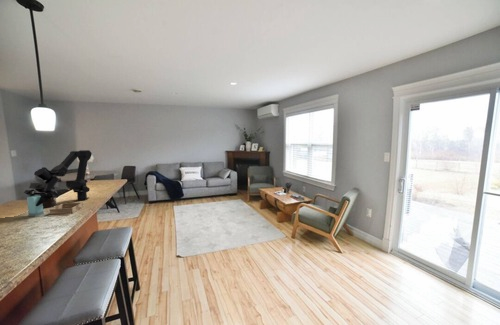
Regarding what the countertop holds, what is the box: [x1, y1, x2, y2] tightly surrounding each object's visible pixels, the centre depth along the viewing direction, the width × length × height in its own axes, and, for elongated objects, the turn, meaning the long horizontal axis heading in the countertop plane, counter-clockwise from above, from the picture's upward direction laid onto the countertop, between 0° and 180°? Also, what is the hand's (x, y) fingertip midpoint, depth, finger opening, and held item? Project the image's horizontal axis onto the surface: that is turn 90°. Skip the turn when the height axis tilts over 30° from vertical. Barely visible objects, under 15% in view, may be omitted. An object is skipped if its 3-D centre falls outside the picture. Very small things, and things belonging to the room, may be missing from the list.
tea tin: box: [26, 195, 45, 218], centre depth 128 cm, size 5×5×12 cm
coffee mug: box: [39, 195, 57, 209], centre depth 146 cm, size 12×9×10 cm
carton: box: [47, 202, 85, 217], centre depth 136 cm, size 18×12×4 cm
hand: (32, 205), depth 127 cm, fingers closed on tea tin, 4 cm apart
